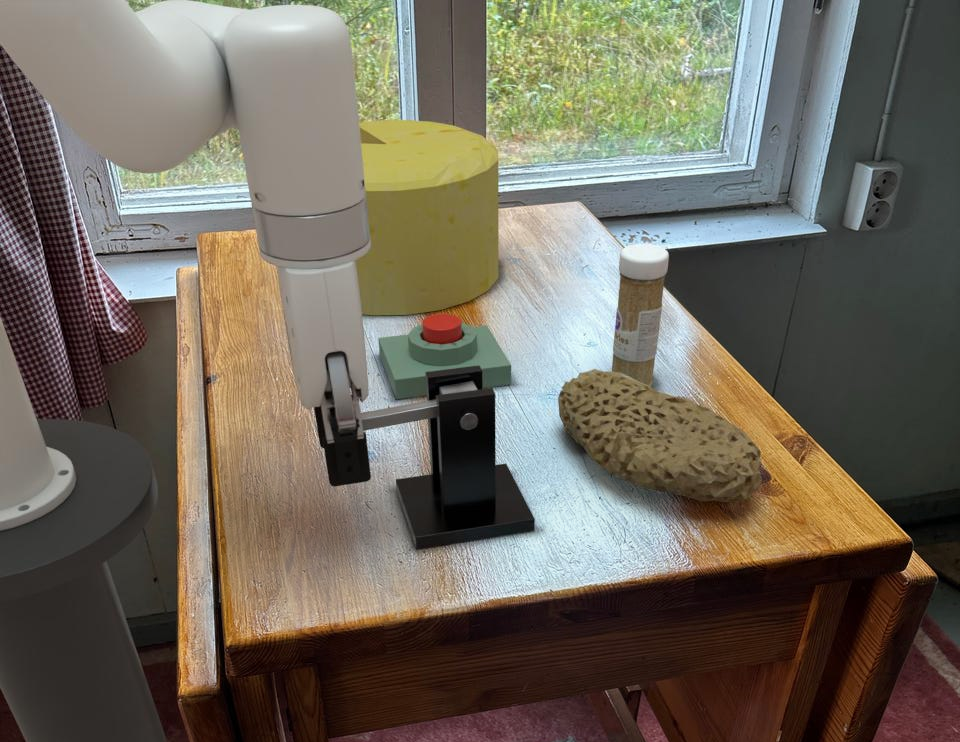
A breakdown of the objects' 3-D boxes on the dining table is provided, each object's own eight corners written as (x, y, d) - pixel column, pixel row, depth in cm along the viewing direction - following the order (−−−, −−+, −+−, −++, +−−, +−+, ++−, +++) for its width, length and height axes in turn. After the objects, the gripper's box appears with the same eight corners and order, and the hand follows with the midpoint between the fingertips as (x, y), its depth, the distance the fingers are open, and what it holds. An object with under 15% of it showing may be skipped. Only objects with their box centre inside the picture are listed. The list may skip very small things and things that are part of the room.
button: (427, 348, 98) (426, 331, 97) (419, 332, 101) (418, 316, 100) (465, 343, 99) (465, 327, 98) (457, 327, 102) (456, 311, 101)
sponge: (541, 445, 93) (633, 518, 76) (551, 362, 89) (651, 420, 73) (662, 446, 97) (774, 515, 81) (677, 366, 94) (798, 422, 77)
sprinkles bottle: (601, 378, 100) (611, 246, 92) (639, 369, 102) (653, 239, 93) (623, 397, 97) (636, 262, 88) (662, 388, 99) (679, 254, 90)
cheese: (290, 244, 131) (273, 121, 121) (481, 231, 134) (480, 110, 124) (294, 323, 112) (273, 185, 102) (516, 306, 114) (518, 170, 104)
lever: (332, 458, 74) (326, 430, 72) (323, 426, 77) (318, 399, 76) (486, 429, 75) (484, 401, 74) (471, 399, 79) (469, 372, 77)
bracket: (416, 549, 79) (406, 418, 71) (396, 490, 85) (385, 365, 77) (534, 530, 80) (538, 401, 72) (506, 474, 87) (506, 350, 79)
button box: (396, 399, 98) (393, 362, 95) (379, 357, 105) (376, 321, 102) (511, 384, 100) (511, 347, 97) (487, 344, 107) (486, 308, 104)
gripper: (247, 194, 71) (287, 419, 83) (267, 280, 58) (310, 530, 70) (350, 183, 72) (374, 406, 84) (390, 266, 59) (411, 514, 71)
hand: (344, 460), depth 77 cm, fingers closed on lever, 5 cm apart
